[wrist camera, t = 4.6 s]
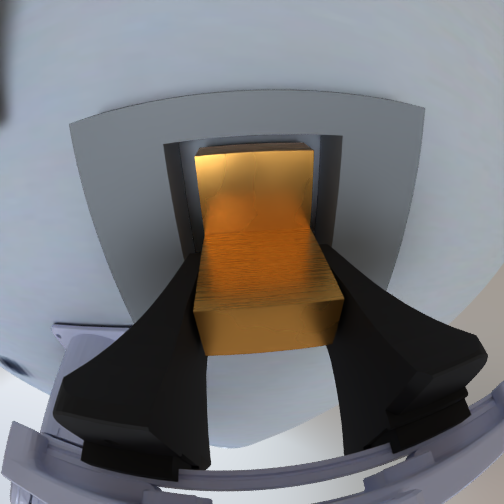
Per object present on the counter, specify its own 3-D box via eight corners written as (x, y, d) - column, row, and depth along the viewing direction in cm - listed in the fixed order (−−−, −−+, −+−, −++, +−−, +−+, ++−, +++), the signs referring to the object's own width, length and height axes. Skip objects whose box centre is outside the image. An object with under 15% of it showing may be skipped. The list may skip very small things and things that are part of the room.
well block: (365, 275, 15) (381, 304, 13) (144, 291, 15) (134, 323, 13) (392, 100, 10) (425, 107, 8) (98, 114, 9) (68, 124, 7)
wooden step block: (299, 250, 13) (332, 344, 8) (212, 256, 13) (205, 355, 8) (303, 142, 10) (364, 193, 5) (199, 147, 10) (169, 202, 5)
